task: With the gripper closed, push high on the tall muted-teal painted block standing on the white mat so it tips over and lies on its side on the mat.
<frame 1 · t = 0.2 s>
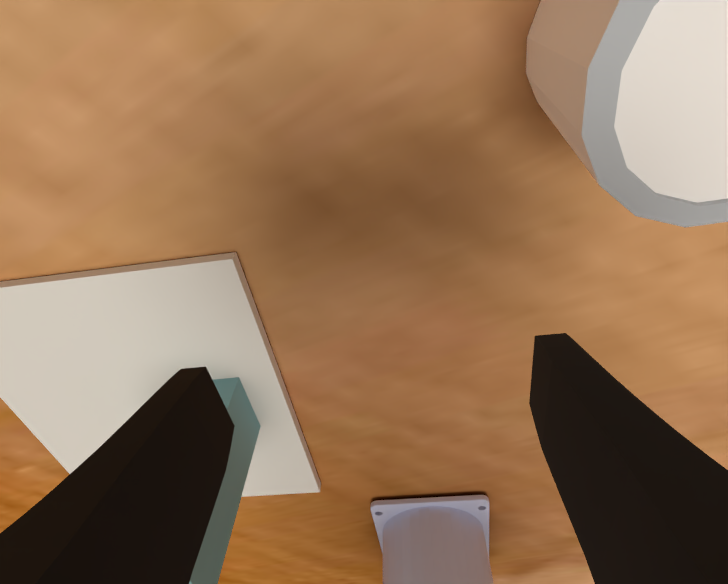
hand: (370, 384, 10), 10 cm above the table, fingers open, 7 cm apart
white cylinder: (610, 38, 15), on the table
teal block: (215, 405, 25), point 1 cm above the table, touching white mat
white mat: (153, 403, 26), on the table
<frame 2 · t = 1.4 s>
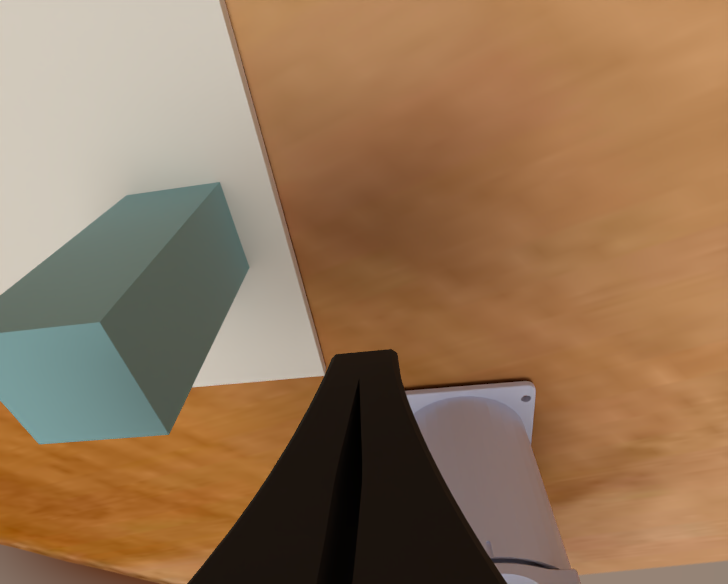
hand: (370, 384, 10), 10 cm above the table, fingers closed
teal block: (190, 233, 19), point 1 cm above the table, touching white mat
white mat: (111, 237, 20), on the table
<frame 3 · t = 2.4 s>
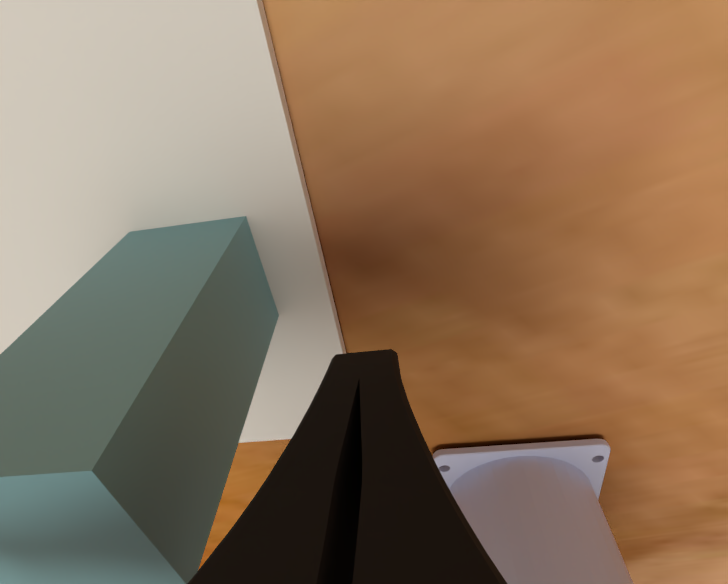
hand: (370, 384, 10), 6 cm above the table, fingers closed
teal block: (208, 276, 15), point 1 cm above the table, touching white mat
white mat: (111, 279, 16), on the table
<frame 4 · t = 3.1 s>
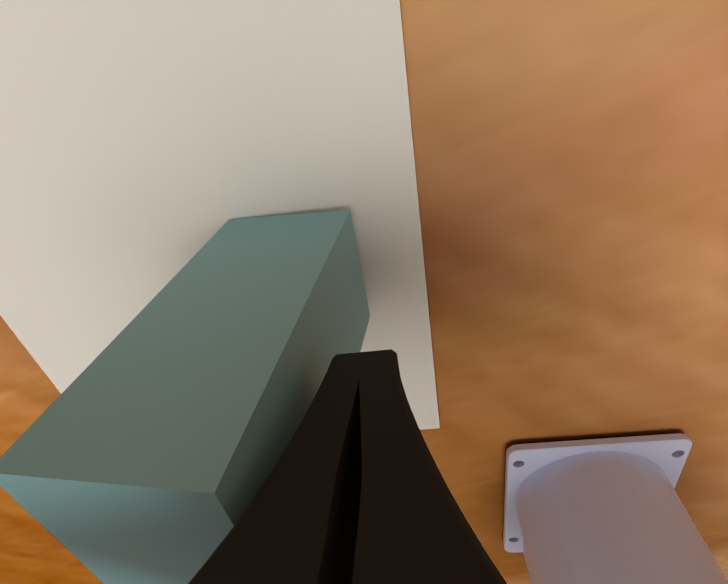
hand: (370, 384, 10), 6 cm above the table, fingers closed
teal block: (302, 269, 15), point 1 cm above the table, tilted 8°, touching white mat
white mat: (199, 269, 16), on the table
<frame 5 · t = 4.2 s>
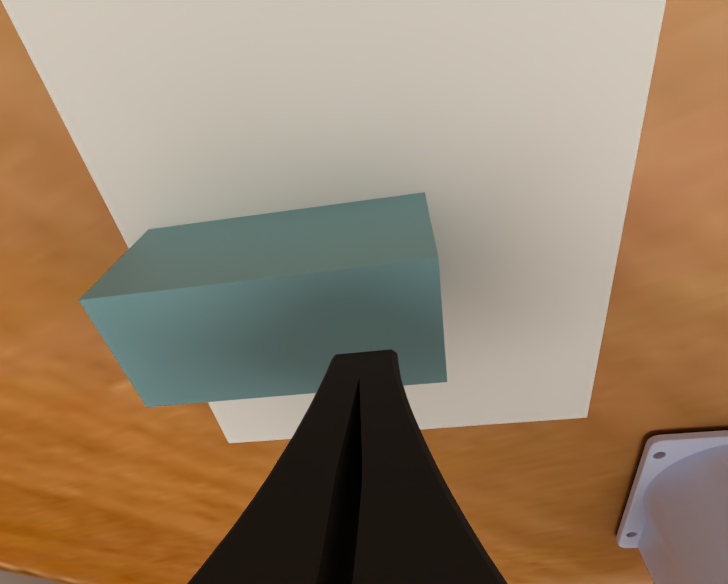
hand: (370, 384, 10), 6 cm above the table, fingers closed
teal block: (435, 283, 13), point 3 cm above the table, tilted 90°, touching white mat
white mat: (370, 248, 15), on the table
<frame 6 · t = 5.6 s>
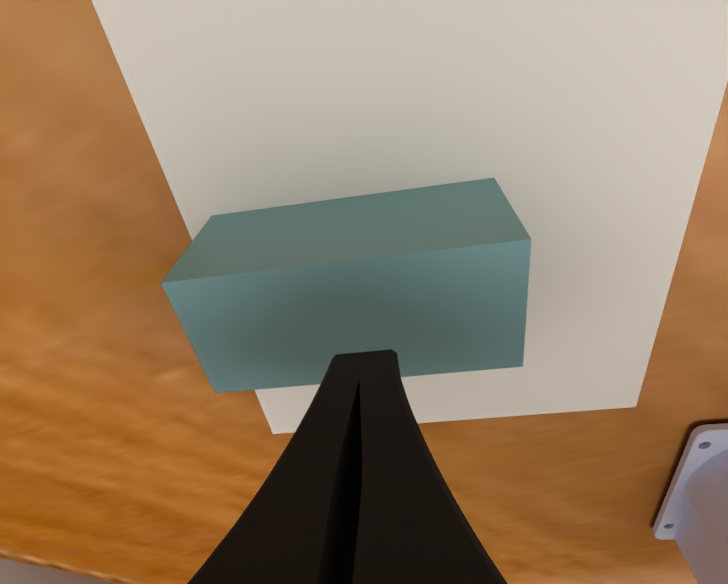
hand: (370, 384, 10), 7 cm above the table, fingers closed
teal block: (507, 268, 13), point 3 cm above the table, tilted 90°, touching white mat
white mat: (431, 235, 15), on the table
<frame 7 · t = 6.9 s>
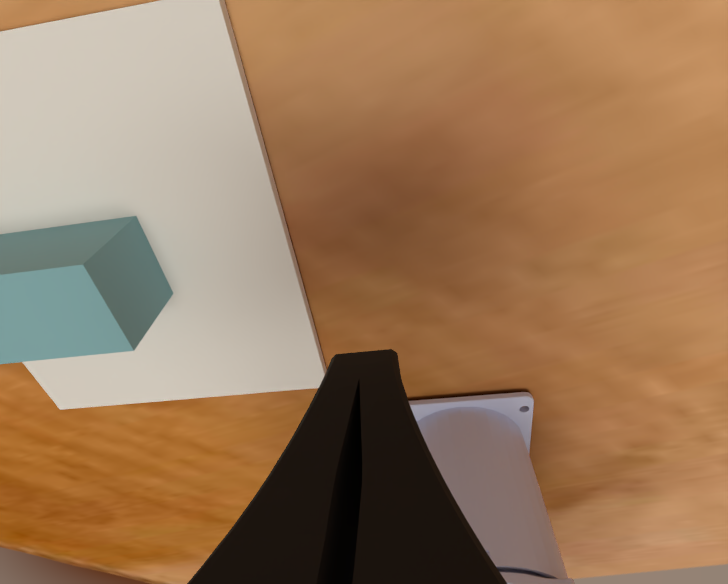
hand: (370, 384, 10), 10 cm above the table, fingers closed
teal block: (135, 281, 18), point 3 cm above the table, tilted 90°, touching white mat
white mat: (121, 255, 20), on the table
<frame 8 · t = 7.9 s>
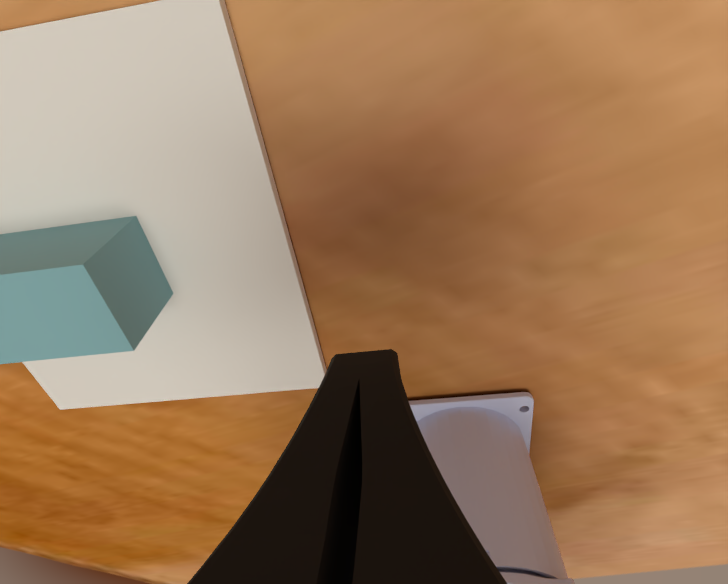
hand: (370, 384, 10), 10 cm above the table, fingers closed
teal block: (135, 281, 18), point 3 cm above the table, tilted 90°, touching white mat
white mat: (121, 255, 20), on the table
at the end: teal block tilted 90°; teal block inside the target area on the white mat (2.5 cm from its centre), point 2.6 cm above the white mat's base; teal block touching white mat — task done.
